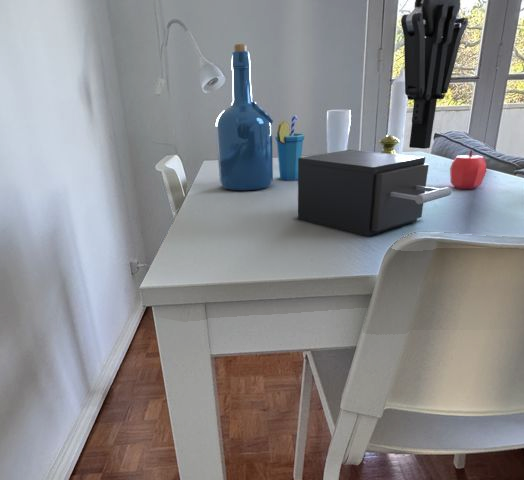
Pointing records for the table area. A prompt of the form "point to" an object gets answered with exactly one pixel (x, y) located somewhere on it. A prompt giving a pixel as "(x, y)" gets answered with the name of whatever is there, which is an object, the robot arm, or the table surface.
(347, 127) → the drinking glass
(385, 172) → the drawer
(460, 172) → the apple
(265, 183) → the wine bottle
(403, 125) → the candle
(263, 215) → the table surface
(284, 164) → the cup
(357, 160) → the cabinet
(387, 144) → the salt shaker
